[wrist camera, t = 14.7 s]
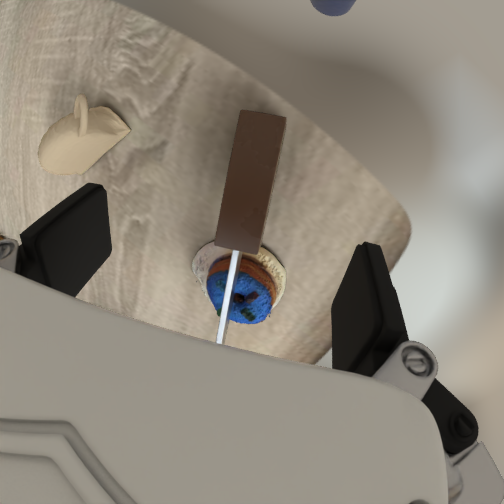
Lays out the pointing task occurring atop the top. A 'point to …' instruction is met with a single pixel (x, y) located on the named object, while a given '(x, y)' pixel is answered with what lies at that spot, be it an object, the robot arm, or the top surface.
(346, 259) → the top surface
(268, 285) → the dessert
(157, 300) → the top surface
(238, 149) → the knife
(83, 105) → the decorative ornament
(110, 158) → the top surface
